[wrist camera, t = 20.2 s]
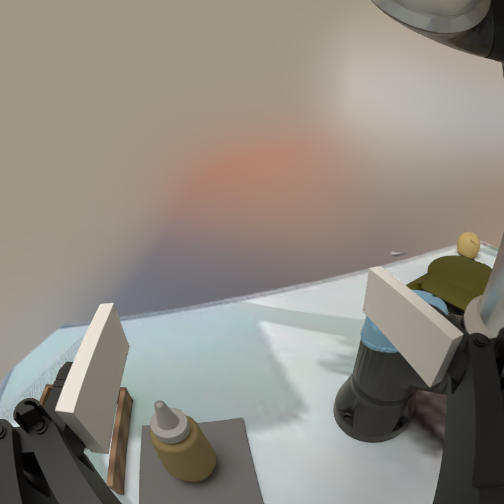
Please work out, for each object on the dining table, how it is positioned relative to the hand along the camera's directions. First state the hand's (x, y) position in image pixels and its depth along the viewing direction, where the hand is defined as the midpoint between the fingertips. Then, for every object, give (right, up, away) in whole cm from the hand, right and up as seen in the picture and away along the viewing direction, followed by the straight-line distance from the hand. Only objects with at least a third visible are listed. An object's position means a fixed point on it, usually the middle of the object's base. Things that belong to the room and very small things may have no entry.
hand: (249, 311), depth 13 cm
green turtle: (+69, -11, +57) cm, 90 cm away
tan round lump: (+96, +1, +82) cm, 126 cm away
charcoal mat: (-9, -31, +19) cm, 37 cm away
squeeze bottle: (-9, -30, +19) cm, 36 cm away
